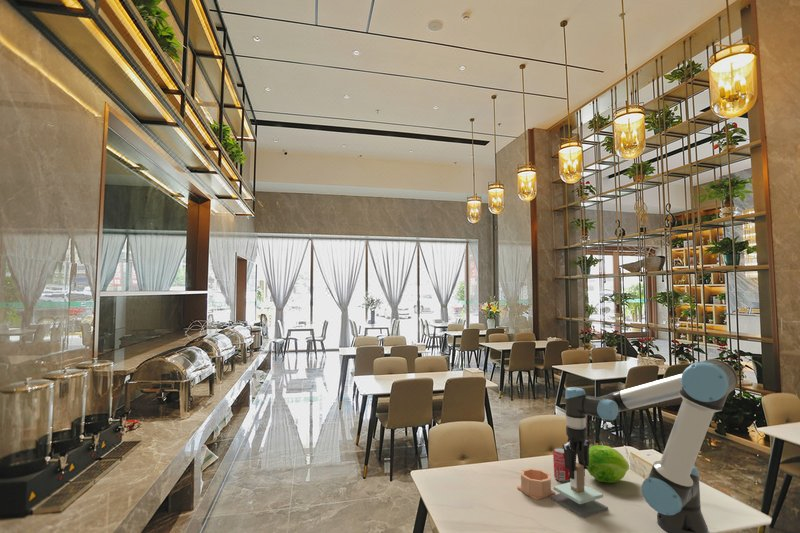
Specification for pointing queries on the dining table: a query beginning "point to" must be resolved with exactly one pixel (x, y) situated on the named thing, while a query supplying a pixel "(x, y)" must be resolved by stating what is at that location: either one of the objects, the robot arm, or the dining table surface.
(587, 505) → the mat
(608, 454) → the lettuce
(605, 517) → the dining table surface
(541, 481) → the bowl
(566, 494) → the lid
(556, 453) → the soda can
